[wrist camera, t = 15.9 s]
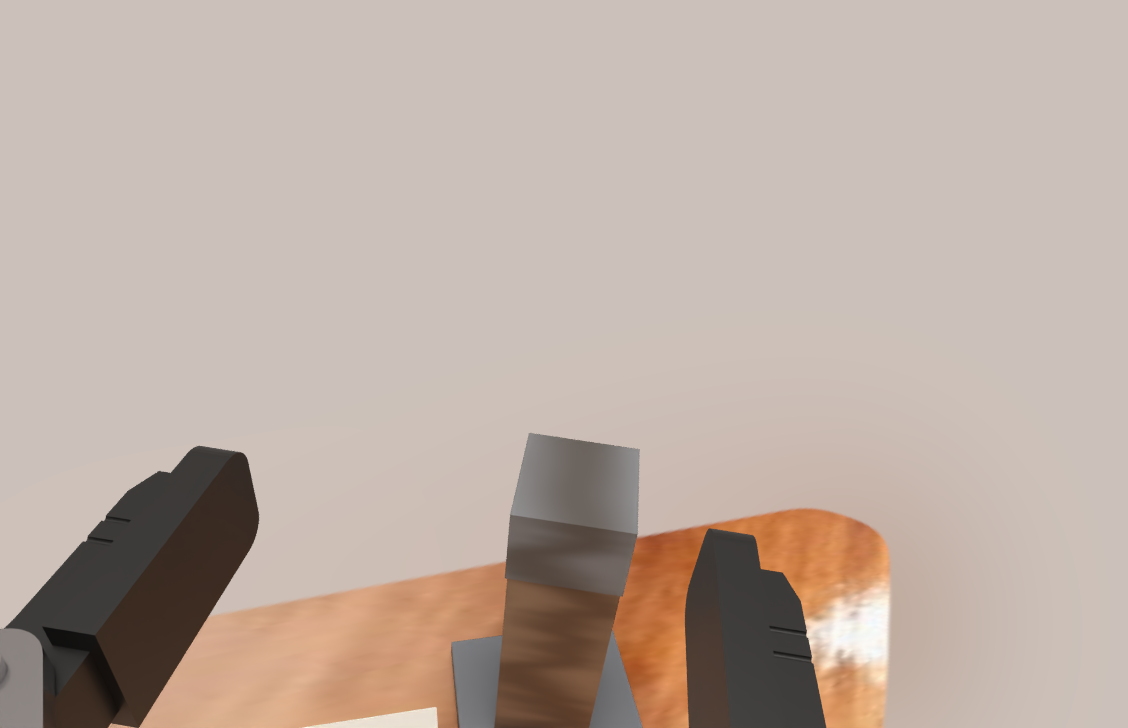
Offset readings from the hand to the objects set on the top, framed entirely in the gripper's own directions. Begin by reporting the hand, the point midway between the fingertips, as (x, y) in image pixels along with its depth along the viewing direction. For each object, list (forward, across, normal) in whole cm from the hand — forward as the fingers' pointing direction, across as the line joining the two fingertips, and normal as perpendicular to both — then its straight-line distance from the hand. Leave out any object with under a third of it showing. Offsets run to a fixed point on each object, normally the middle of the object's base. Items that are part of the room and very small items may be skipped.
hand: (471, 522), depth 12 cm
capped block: (+14, -2, +29) cm, 32 cm away
